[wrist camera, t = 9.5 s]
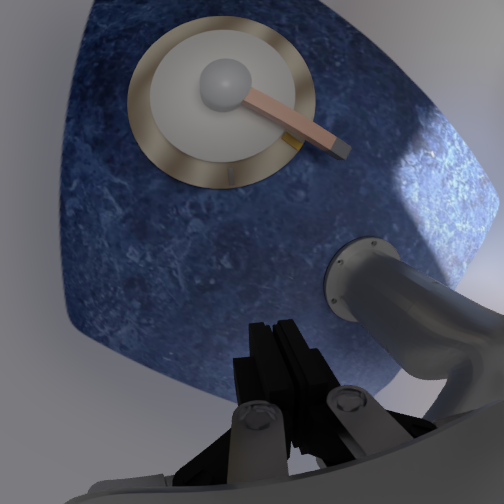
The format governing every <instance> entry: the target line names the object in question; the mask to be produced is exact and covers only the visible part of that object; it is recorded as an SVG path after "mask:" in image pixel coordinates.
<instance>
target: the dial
mask: <svg viewBox="0 0 504 504" xmlns="http://www.w3.org/2000/svg"><path fill="white" fill-rule="evenodd" d="M294 105H295V85H294V81H293V77H292V74H291V72H290V69H289V67H288V66H287V64H286V62H285V61H284V59H283V58H282V57H281V55H280V54H279V53H278V52H277V51H276V50H275V49H274V48H273V47H272V46H270V45H269V44H268V43H266V42H265V41H263V40H261V39H259V38H258V37H255V36H253V35H251V34H248V33H244V32H240V31H234V30H212V31H207V32H203V33H199V34H196V35H194V36H192V37H189V38H187V39H185V40H184V41H182V42H181V43H179V44H178V45H176V46H175V47H174V48H173V49H171V50H170V51H169V52H168V54H167V55H166V56H165V57H164V58H163V60H162V61H161V62H160V64H159V66H158V67H157V69H156V71H155V74H154V76H153V79H152V83H151V88H150V106H151V110H152V115H153V117H154V120H155V123H156V124H157V126H158V128H159V130H160V131H161V132H162V134H163V135H164V136H165V138H166V139H167V140H168V141H169V142H170V143H171V144H172V145H174V146H175V147H176V148H178V149H179V150H180V151H182V152H184V153H186V154H187V155H190V156H192V157H194V158H197V159H201V160H204V161H210V162H232V161H237V160H242V159H245V158H248V157H251V156H254V155H256V154H257V153H259V152H261V151H263V150H265V149H266V148H267V147H269V146H270V145H271V144H272V143H274V142H275V141H276V140H277V139H278V138H279V137H280V135H281V134H282V133H283V132H284V130H285V128H286V129H288V130H290V131H291V132H293V133H295V134H296V135H298V136H300V137H302V138H303V139H305V140H306V141H308V142H310V143H311V144H313V145H315V146H316V147H318V148H319V149H321V150H323V151H324V152H326V153H327V154H329V155H330V156H332V157H333V158H335V159H336V160H346V158H347V156H348V154H349V152H350V150H351V148H352V147H351V146H349V145H348V144H346V143H345V142H343V141H342V140H340V139H339V138H337V137H336V136H334V135H333V134H331V133H330V132H328V131H327V130H325V129H323V128H322V127H320V126H319V125H317V124H316V123H314V122H312V121H311V120H309V119H307V118H306V117H304V116H302V115H301V114H299V113H297V112H296V111H294Z"/></svg>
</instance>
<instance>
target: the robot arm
mask: <svg viewBox="0 0 504 504" xmlns="http://www.w3.org/2000/svg"><path fill="white" fill-rule="evenodd" d="M338 260H339V262H338ZM324 294H325V298H326V301H327V303H328V305H329V307H330V308H331V309H332V311H333V312H334V313H335V314H336V315H337V316H339V317H340V318H342V319H344V320H347V321H350V322H359V323H360V324H361V325H362V326H363V327H364V328H365V329H366V330H367V331H368V332H369V333H370V334H371V335H372V337H373V338H374V339H375V340H376V341H377V342H378V343H379V344H380V345H381V346H382V347H383V348H384V349H385V350H386V351H387V352H388V353H389V355H390V356H391V357H392V358H393V359H394V360H395V361H396V362H397V363H398V364H399V365H400V366H401V367H402V368H403V369H404V370H405V371H406V372H407V373H408V374H410V375H412V376H413V377H416V378H419V379H423V380H440V379H447V382H446V385H445V386H444V388H443V389H442V391H441V392H440V394H439V395H438V398H437V399H436V400H435V402H434V403H433V405H432V406H431V407H430V409H429V410H428V411H427V412H426V414H425V415H424V416H423V418H422V419H421V418H417V417H413V416H409V415H404V414H400V413H396V412H393V411H389V410H385V409H384V408H383V407H382V406H381V405H380V404H379V403H378V402H377V401H376V400H375V399H374V398H373V397H372V396H371V395H370V394H369V393H368V392H367V391H366V390H364V389H363V388H360V387H358V386H352V385H344V386H341V385H340V384H339V382H338V380H337V379H336V377H335V375H334V374H333V372H332V370H331V369H330V367H329V366H328V364H327V362H326V361H325V359H324V357H323V356H322V354H321V353H320V351H319V350H318V349H317V348H314V349H309V347H308V345H307V343H306V342H305V340H304V338H303V336H302V335H301V333H300V331H299V329H298V328H297V326H296V324H295V322H294V321H293V319H288V320H279V321H278V323H277V324H276V325H273V333H272V331H271V328H270V326H269V325H267V326H265V325H264V323H263V322H260V323H250V324H249V348H250V357H242V358H233V369H234V380H235V389H236V396H237V402H238V407H237V408H236V410H235V411H234V413H233V416H232V425H231V428H230V429H229V430H228V431H227V432H226V433H225V434H223V435H222V436H221V437H220V438H219V439H217V440H216V441H215V442H214V443H213V444H211V445H210V446H209V447H207V448H206V449H205V450H204V451H202V452H201V453H200V454H199V455H197V456H196V457H195V458H194V459H192V460H191V461H190V462H188V463H187V464H186V465H185V466H183V467H182V468H180V469H179V470H178V471H177V472H176V473H175V475H171V476H165V477H164V475H163V474H158V475H152V476H144V477H137V478H128V479H117V480H105V481H100V482H97V483H96V484H94V485H92V486H91V488H90V489H89V490H88V494H85V495H81V496H78V497H75V498H73V499H71V500H69V501H67V502H66V503H65V504H504V315H502V314H499V313H496V312H495V311H492V310H490V309H488V308H485V307H483V306H481V305H480V304H478V303H476V302H474V301H472V300H470V299H468V298H466V297H464V296H463V295H461V294H459V293H457V292H456V291H454V290H452V289H450V288H449V287H447V286H445V285H443V284H442V283H440V282H438V281H436V280H434V279H433V278H431V277H429V276H427V275H425V274H424V273H422V272H420V271H418V270H416V269H414V268H412V267H411V266H409V265H407V264H405V263H403V262H401V259H400V256H399V254H398V252H397V250H396V249H395V248H394V247H393V246H392V245H391V244H390V243H388V242H387V241H385V240H383V239H381V238H377V237H362V238H358V239H356V240H353V241H351V242H350V243H348V244H347V245H345V246H344V247H343V248H342V249H341V250H340V251H338V252H337V254H336V255H335V256H334V258H333V259H332V261H331V263H330V265H329V267H328V269H327V272H326V275H325V281H324ZM291 441H292V444H293V447H294V448H297V447H299V449H300V452H301V455H304V454H311V455H313V456H315V457H316V461H317V464H318V466H319V467H320V469H319V470H315V471H310V472H305V473H301V474H296V475H291V476H289V474H288V464H287V460H288V459H289V458H290V448H291Z"/></svg>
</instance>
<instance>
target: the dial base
mask: <svg viewBox="0 0 504 504" xmlns="http://www.w3.org/2000/svg"><path fill="white" fill-rule="evenodd" d="M212 30H234V31H240V32H244V33H248V34H251V35H253V36H255V37H258V38H259V39H261V40H263V41H265V42H266V43H268V44H269V45H270V46H272V47H273V48H274V49H275V50H276V51H277V52H278V53H279V54H280V55H281V57H282V58H283V59H284V61H285V62H286V64H287V66H288V67H289V69H290V72H291V74H292V77H293V81H294V85H295V105H294V111H296V112H297V113H299V114H301V115H302V116H304V117H306V118H307V119H309V120H311V121H312V122H313V118H314V112H315V91H314V84H313V81H312V77H311V74H310V72H309V69H308V67H307V65H306V63H305V61H304V60H303V58H302V57H301V55H300V54H299V52H298V51H297V50H296V49H295V48H294V46H293V45H292V44H291V43H290V42H289V41H287V40H286V39H285V38H284V37H283V36H281V35H280V34H279V33H277V32H276V31H274V30H272V29H271V28H269V27H267V26H265V25H263V24H260V23H258V22H255V21H252V20H248V19H244V18H239V17H232V16H215V17H206V18H201V19H197V20H193V21H190V22H187V23H185V24H182V25H180V26H178V27H176V28H174V29H172V30H171V31H169V32H168V33H166V34H165V35H163V36H162V37H161V38H160V39H158V40H157V41H156V42H155V43H154V44H153V45H152V46H151V47H150V48H149V49H148V50H147V51H146V53H145V54H144V55H143V57H142V58H141V60H140V61H139V63H138V65H137V67H136V69H135V71H134V73H133V76H132V79H131V82H130V86H129V91H128V101H127V108H128V118H129V122H130V126H131V129H132V132H133V134H134V137H135V139H136V141H137V143H138V144H139V146H140V148H141V149H142V151H143V152H144V153H145V154H146V156H147V157H148V158H149V159H150V160H151V161H152V162H153V163H154V164H155V165H156V166H157V167H158V168H160V169H161V170H163V171H164V172H165V173H167V174H168V175H170V176H172V177H174V178H176V179H178V180H180V181H183V182H185V183H188V184H191V185H195V186H199V187H204V188H213V189H228V188H235V187H242V186H245V185H249V184H253V183H255V182H258V181H260V180H263V179H265V178H267V177H268V176H270V175H272V174H274V173H275V172H277V171H278V170H279V169H281V168H282V167H284V166H285V165H286V164H287V163H288V162H289V161H290V160H291V159H292V158H293V157H294V156H295V155H296V153H297V152H298V151H299V150H300V148H301V147H302V145H303V143H304V142H305V139H303V138H302V137H300V136H298V135H296V134H295V133H293V132H291V131H290V130H288V129H286V128H285V130H284V132H283V133H282V134H281V135H280V137H279V138H278V139H277V140H276V141H275V142H274V143H272V144H271V145H270V146H269V147H267V148H266V149H265V150H263V151H261V152H259V153H257V154H256V155H254V156H251V157H248V158H245V159H242V160H237V161H232V162H210V161H204V160H201V159H197V158H194V157H192V156H190V155H187V154H186V153H184V152H182V151H180V150H179V149H178V148H176V147H175V146H174V145H172V144H171V143H170V142H169V141H168V140H167V139H166V138H165V136H164V135H163V134H162V132H161V131H160V130H159V128H158V126H157V124H156V123H155V120H154V117H153V115H152V110H151V106H150V88H151V83H152V79H153V76H154V74H155V71H156V69H157V67H158V66H159V64H160V62H161V61H162V60H163V58H164V57H165V56H166V55H167V54H168V52H169V51H170V50H171V49H173V48H174V47H175V46H176V45H178V44H179V43H181V42H182V41H184V40H185V39H187V38H189V37H192V36H194V35H196V34H199V33H203V32H207V31H212Z"/></svg>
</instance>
